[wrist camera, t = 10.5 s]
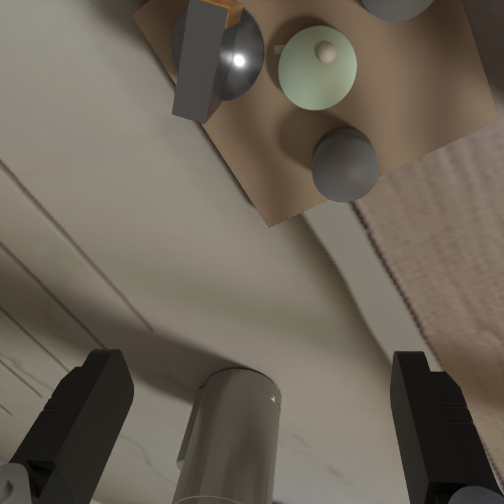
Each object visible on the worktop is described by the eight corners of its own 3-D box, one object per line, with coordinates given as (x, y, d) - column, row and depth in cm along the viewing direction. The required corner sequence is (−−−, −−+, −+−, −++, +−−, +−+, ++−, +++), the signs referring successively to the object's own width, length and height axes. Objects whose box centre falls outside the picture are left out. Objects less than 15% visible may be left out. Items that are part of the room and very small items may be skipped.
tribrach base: (271, 216, 36) (264, 246, 32) (141, 13, 29) (112, 18, 25) (489, 111, 29) (518, 132, 25) (391, -188, 22) (408, -227, 18)
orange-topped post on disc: (251, 108, 29) (237, 134, 24) (169, 83, 29) (138, 103, 24) (276, 12, 26) (266, 19, 21) (184, -17, 26) (151, -18, 21)
